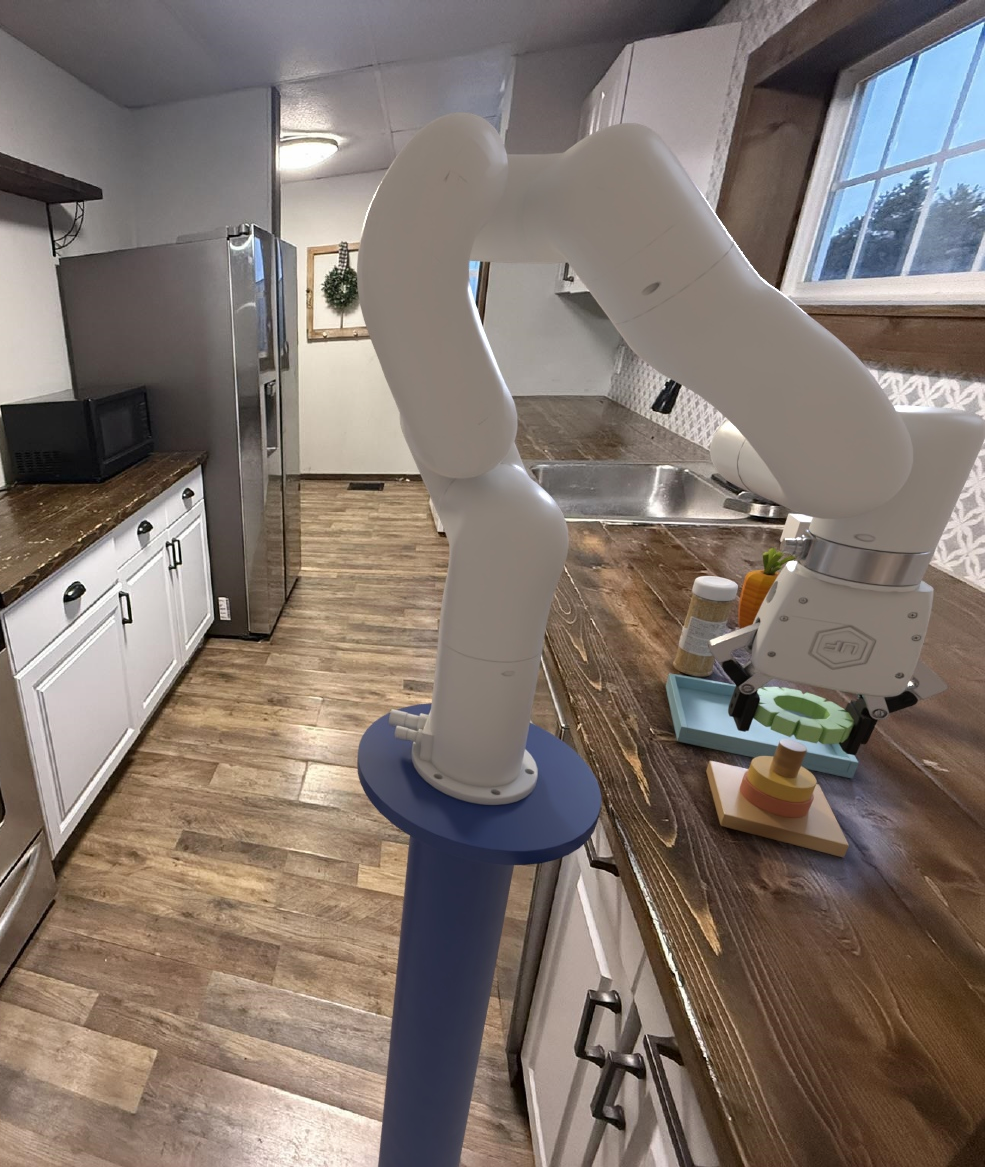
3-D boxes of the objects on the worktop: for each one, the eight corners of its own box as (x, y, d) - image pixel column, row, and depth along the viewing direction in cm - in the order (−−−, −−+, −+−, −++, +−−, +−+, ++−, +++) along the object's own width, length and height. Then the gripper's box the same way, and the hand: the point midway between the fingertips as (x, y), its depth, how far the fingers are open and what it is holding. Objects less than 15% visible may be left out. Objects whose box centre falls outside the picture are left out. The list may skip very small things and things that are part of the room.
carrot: (733, 633, 96) (761, 540, 90) (774, 644, 92) (806, 549, 87) (720, 642, 94) (748, 548, 88) (761, 655, 90) (793, 557, 84)
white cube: (790, 550, 126) (800, 521, 124) (779, 541, 131) (788, 513, 129) (829, 552, 124) (839, 523, 122) (816, 543, 129) (825, 515, 127)
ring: (756, 731, 57) (761, 716, 57) (741, 693, 63) (745, 680, 62) (859, 752, 54) (866, 737, 54) (833, 711, 60) (839, 697, 59)
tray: (677, 741, 73) (681, 726, 72) (665, 686, 84) (669, 673, 83) (852, 778, 66) (859, 762, 65) (815, 713, 77) (821, 699, 76)
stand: (720, 826, 61) (742, 759, 58) (705, 771, 68) (725, 709, 65) (844, 858, 57) (875, 788, 54) (814, 796, 64) (841, 731, 61)
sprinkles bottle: (681, 658, 90) (704, 572, 85) (718, 671, 86) (745, 582, 81) (665, 668, 88) (688, 580, 83) (703, 682, 84) (729, 590, 79)
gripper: (738, 558, 53) (683, 731, 60) (1040, 593, 45) (937, 787, 52) (723, 533, 59) (674, 693, 66) (986, 560, 51) (900, 738, 58)
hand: (790, 733), depth 59 cm, fingers closed on ring, 7 cm apart
